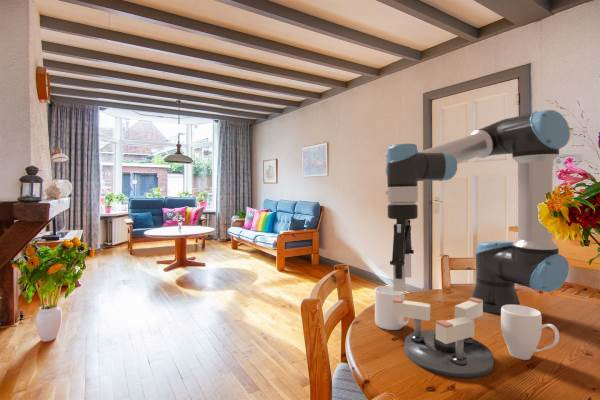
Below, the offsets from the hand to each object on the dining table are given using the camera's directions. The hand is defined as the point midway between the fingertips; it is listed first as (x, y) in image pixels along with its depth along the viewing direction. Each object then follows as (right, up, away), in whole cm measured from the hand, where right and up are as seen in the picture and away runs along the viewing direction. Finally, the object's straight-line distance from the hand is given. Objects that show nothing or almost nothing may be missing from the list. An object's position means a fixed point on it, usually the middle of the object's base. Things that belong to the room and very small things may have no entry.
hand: (402, 283), depth 86 cm
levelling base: (+9, -16, -5) cm, 20 cm away
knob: (+7, -14, -13) cm, 20 cm away
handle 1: (+2, -13, -1) cm, 13 cm away
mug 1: (+1, -16, +12) cm, 20 cm away
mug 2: (+28, -17, -7) cm, 34 cm away
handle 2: (+17, -13, -1) cm, 21 cm away
